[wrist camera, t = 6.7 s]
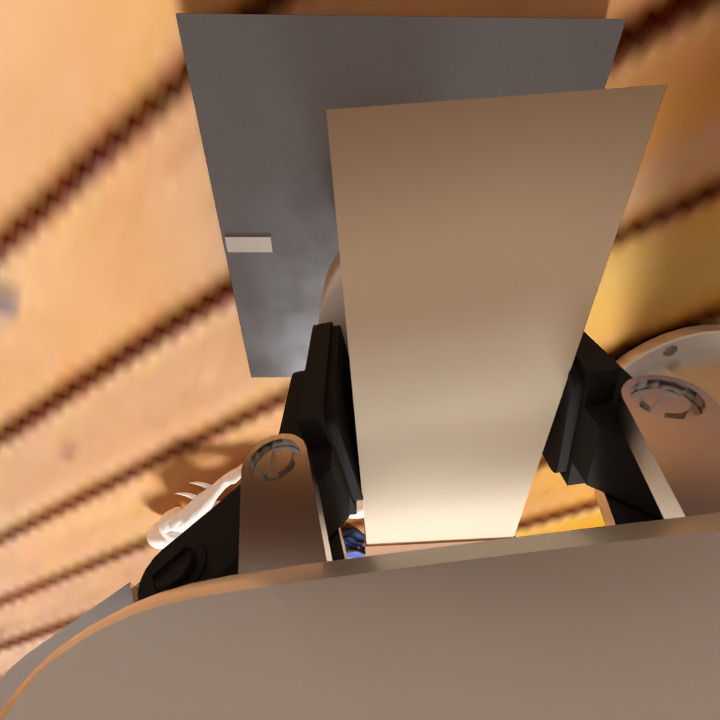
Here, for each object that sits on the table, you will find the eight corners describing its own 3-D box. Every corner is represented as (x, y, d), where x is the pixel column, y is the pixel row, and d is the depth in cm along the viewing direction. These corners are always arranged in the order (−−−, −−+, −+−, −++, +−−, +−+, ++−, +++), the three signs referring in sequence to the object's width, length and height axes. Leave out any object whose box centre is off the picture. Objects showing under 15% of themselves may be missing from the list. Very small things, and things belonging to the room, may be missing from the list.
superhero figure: (368, 394, 29) (130, 473, 35) (367, 444, 24) (87, 527, 30) (415, 489, 34) (200, 544, 40) (422, 547, 29) (174, 601, 35)
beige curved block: (298, 114, 10) (224, 116, 4) (528, 97, 10) (776, 76, 4) (338, 426, 17) (332, 589, 11) (474, 418, 17) (539, 579, 11)
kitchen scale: (604, 26, 16) (807, -43, 9) (506, 363, 26) (563, 455, 19) (189, 21, 15) (54, -55, 8) (256, 364, 26) (220, 459, 19)
